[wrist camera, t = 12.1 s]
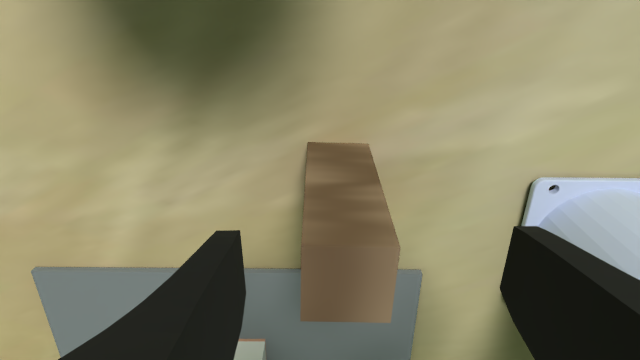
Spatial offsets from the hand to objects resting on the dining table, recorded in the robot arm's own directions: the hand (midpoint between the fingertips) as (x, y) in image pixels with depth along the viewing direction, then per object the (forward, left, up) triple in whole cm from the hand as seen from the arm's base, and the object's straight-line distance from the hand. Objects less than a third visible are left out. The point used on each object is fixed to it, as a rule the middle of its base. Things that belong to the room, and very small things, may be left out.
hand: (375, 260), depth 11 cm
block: (+1, +2, -10) cm, 11 cm away
